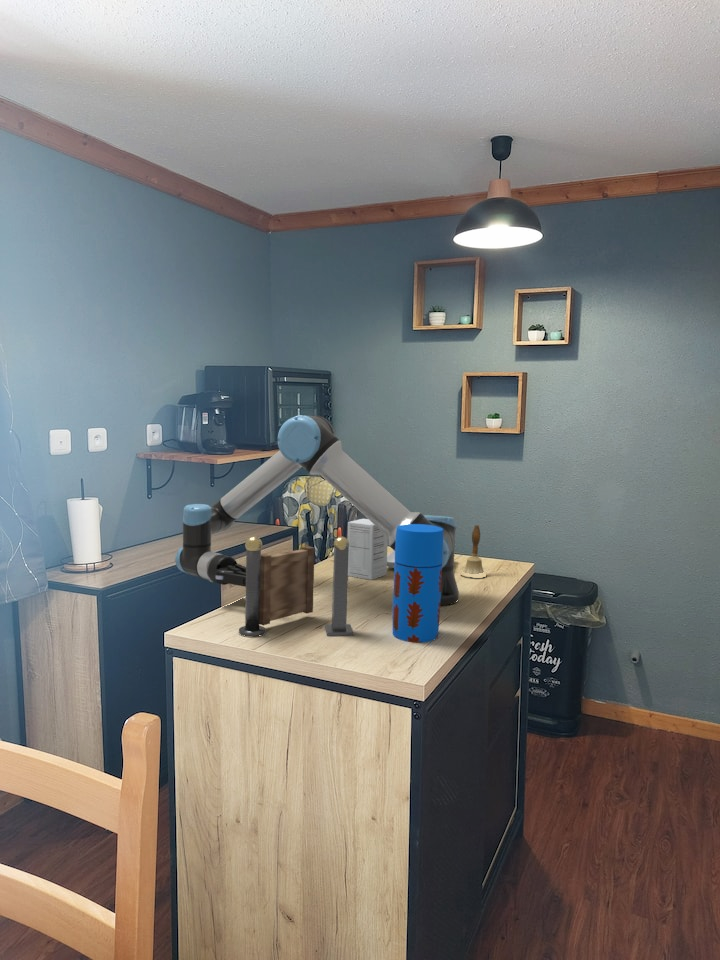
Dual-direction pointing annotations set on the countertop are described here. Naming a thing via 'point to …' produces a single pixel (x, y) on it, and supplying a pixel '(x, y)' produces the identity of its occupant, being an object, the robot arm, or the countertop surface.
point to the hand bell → (474, 555)
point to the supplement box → (366, 550)
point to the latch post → (340, 590)
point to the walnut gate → (286, 584)
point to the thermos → (417, 582)
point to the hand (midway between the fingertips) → (277, 585)
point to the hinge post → (252, 588)
